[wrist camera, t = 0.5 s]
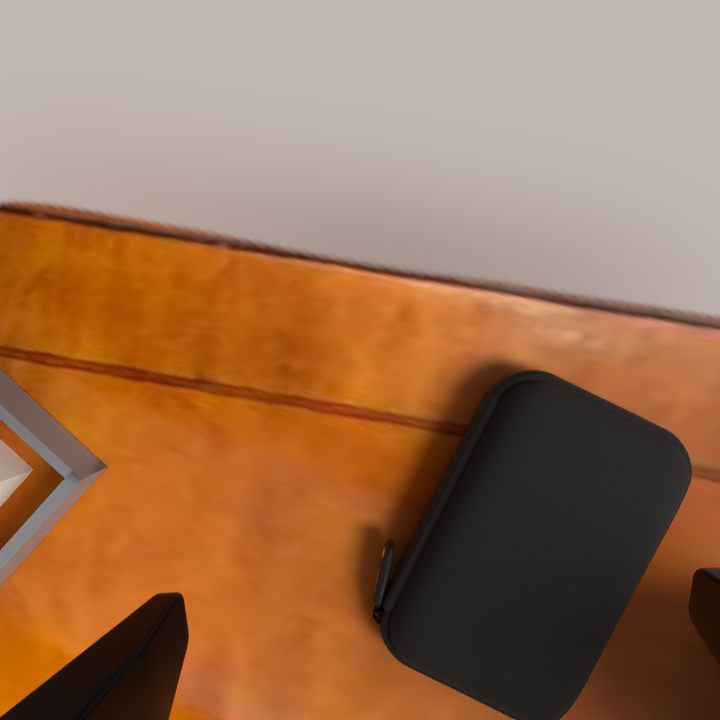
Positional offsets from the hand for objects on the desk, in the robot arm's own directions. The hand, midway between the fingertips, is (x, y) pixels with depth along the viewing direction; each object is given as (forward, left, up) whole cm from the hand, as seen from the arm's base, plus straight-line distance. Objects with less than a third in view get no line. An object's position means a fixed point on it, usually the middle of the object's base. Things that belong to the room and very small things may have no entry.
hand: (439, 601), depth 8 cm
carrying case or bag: (-3, -6, -15) cm, 16 cm away
